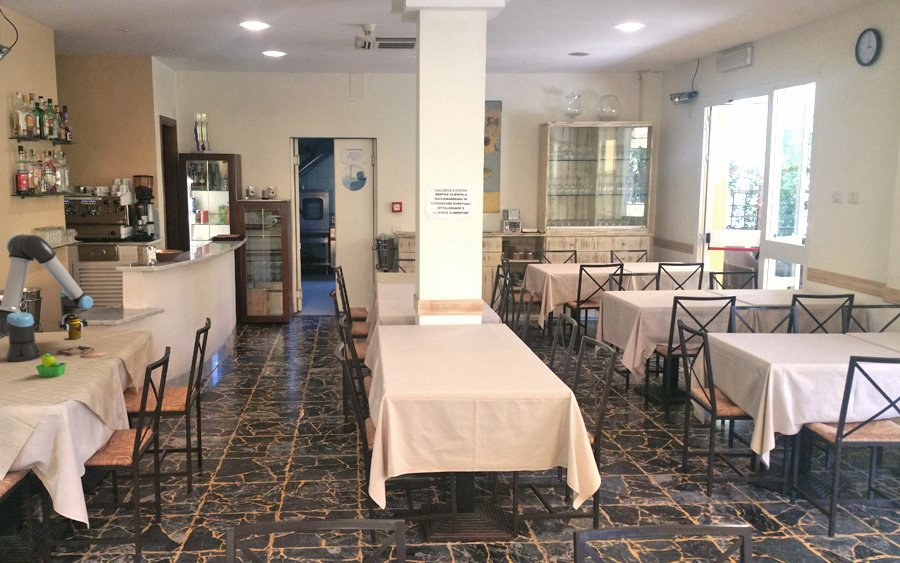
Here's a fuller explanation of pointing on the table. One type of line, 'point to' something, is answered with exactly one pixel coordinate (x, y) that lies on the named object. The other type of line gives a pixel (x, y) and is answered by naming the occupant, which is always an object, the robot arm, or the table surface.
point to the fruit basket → (50, 367)
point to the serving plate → (94, 354)
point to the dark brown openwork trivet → (75, 352)
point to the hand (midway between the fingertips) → (75, 327)
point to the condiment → (74, 328)
